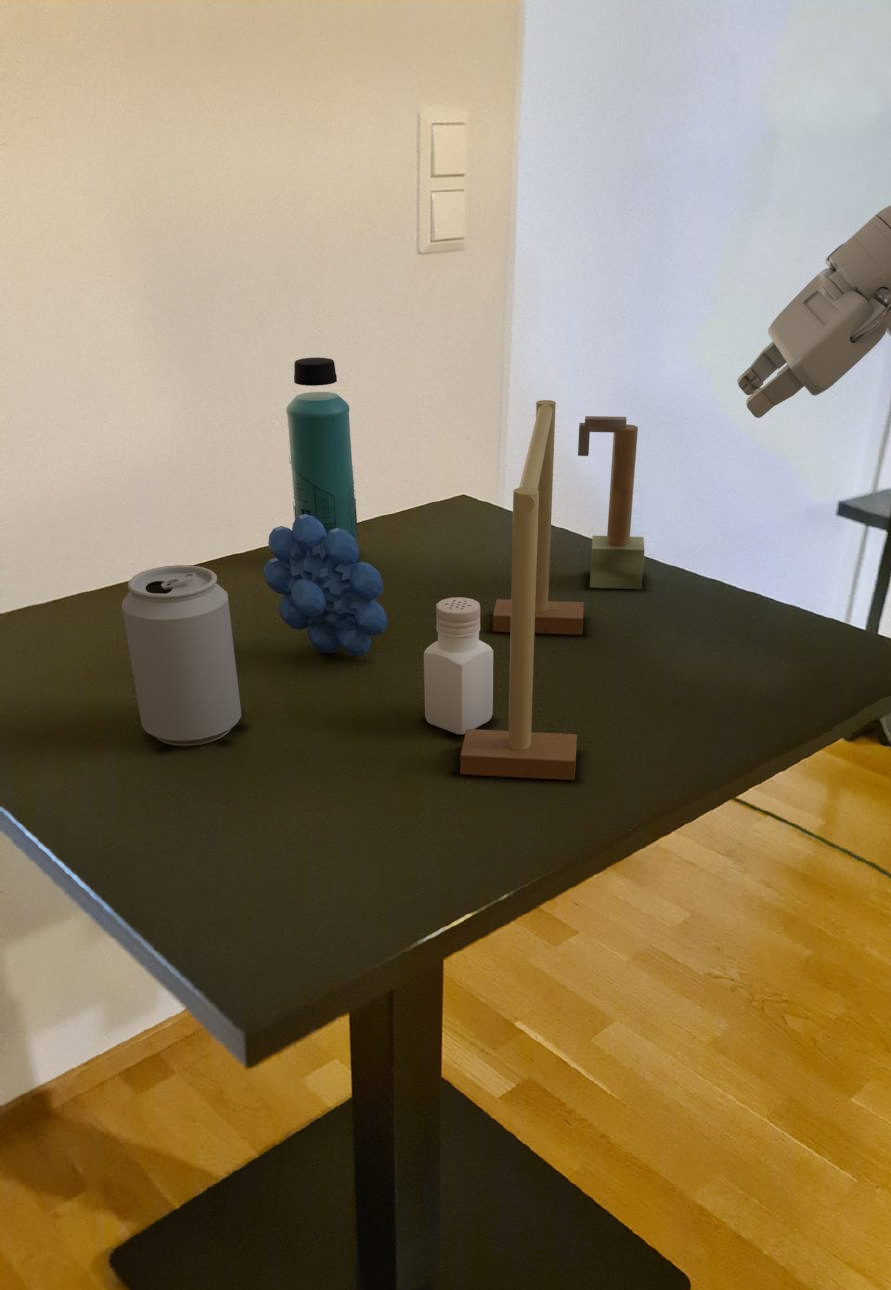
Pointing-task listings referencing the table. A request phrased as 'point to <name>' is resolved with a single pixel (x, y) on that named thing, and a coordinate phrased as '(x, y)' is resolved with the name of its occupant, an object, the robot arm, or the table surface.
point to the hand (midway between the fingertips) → (745, 399)
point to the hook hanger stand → (616, 509)
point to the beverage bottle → (321, 449)
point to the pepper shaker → (458, 669)
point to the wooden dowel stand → (528, 628)
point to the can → (182, 654)
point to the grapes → (325, 586)
